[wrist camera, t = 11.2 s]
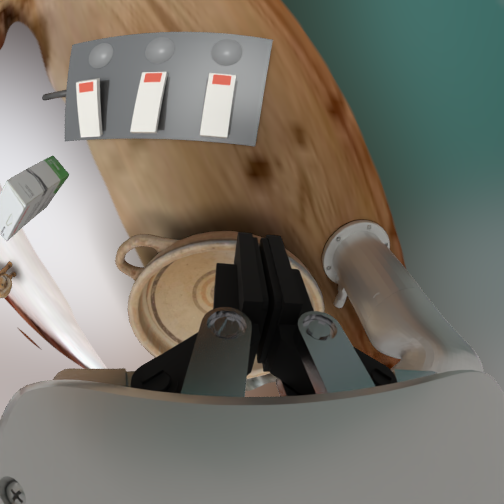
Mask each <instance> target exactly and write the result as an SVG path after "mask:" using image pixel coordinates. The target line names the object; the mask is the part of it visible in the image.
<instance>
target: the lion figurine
mask: <svg viewBox="0 0 504 504" xmlns="http://www.w3.org/2000/svg"><path fill="white" fill-rule="evenodd" d="M10 267H12V263H11V262H8V263H7V265H6V266H5V267H4V268H3V269H2V270H1V271H0V298H4V297H5V298H6V297H7V295H8V294H9V293H10V290H11V288H12V281H11V279H12V277H15V276H16V273H15V272H12V273H11V274H10V275H8V274H6V271H7V270H8V269H9V268H10Z"/></svg>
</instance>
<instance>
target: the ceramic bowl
mask: <svg viewBox="0 0 504 504" xmlns="http://www.w3.org/2000/svg"><path fill="white" fill-rule="evenodd" d="M237 235H238V232H236V231H212V232H206V233H201V234H196V235H192V236H190V237H187V238H184V239H182V240H175V239H168V238H162V237H158V236H154V235H149V234H140V235H135V236H133V237H131V238H129V239H128V240H127V241H125V242H124V243H123V244H122V245H121V246H120V247H119V249H118V251H117V255H116V260H115V262H116V265H117V267H118V269H119V270H120V271H122V272H123V273H125V274H126V275H128V276H130V277H132V278H133V279H134V280H135V283H134V284H133V287H132V290H131V293H130V295H129V301H128V315H129V322H130V324H131V327H132V329H133V332H134V334H135V336H136V337H137V338H138V340H139V342H140V343H141V344H142V345H143V347H144V348H145V349H146V350H147V351H148V352H149V353H150V354H151V355H153V356H154V357H155V358H156V357H158V356H159V355H161V354H163V353H164V352H166V351H168V350H169V349H171V348H173V347H174V346H176V345H178V344H179V343H181V342H183V341H184V340H186V339H188V338H189V337H191V336H193V335H194V334H196V333H197V332H198V331H199V328H200V325H201V321H202V319H203V317H204V315H205V314H206V313H207V312H209V311H210V310H212V309H213V302H214V286H215V274H216V263H226V264H234V257H235V250H236V242H237ZM253 237H257V238H258V243H259V244H260V239H261V238H263V237H260V236H256V235H253ZM138 246H148V247H152V248H154V249H156V250H157V251H158V254H157V255H156V256H155V257H154V258H153V259H152V260H151V261H150V262H148V263H147V265H146V266H145V268H142V267H141V268H140V267H135V266H133V265H130V264H129V263H127V262H126V261H125V259H124V258H125V255H126V253H127V252H129V251H130V250H131V249H133V248H135V247H138ZM285 250H286V253H287V256H288V259H289V262H290V265H291V268H292V269H298V270H299V271H300V273H301V276H302V279H303V281H304V284H305V287H306V290H307V293H308V295H309V298H310V301H311V304H312V307H313V310H314V311H319V312H323V313H324V301H323V296H322V292H321V290H320V288H319V286H318V285H317V283H316V281H315V279H314V278H313V277H312V275H311V273H310V272H309V270H308V269H307V268H306V267H305V266H304V264H303V263H302V262H301V261H300V260H299V259H298V258H297V257H296V256H294V255H293V254H292V253H291V252H289V251H288V250H287V249H285ZM268 373H270V372H263V365H262V363H258V362H257V356H256V357H255V361H254V364H253V368H252V371H251V373H250V374H249V375H247V379H249V378H254V377H258V376H262V375H265V374H268Z"/></svg>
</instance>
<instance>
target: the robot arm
mask: <svg viewBox="0 0 504 504" xmlns="http://www.w3.org/2000/svg"><path fill="white" fill-rule="evenodd" d="M389 249H390V241H389V238H388V235H387V233H386V232H385V230H384V229H383V228H382V227H381V226H380V225H378V224H377V223H375V222H373V221H369V220H358V221H353V222H350V223H348V224H346V225H344V226H342V227H341V228H339V229H338V230H337V231H336V232H335V233H334V234H333V235H332V236H331V237H330V238H329V240H328V242H327V243H326V245H325V248H324V250H323V255H322V264H323V268H324V271H325V273H326V274H327V276H328V277H329V278H330V279H331V280H332V281H333V282H335V283H337V284H338V285H339V286H338V291H339V292H338V294H337V295H336V298H335V300H334V303H333V304H334V306H336V307H338V308H342V307H343V305H344V303H345V301H346V297H347V295H348V297H349V300H350V301H351V303H352V305H353V307H354V309H355V311H356V313H357V315H358V317H359V319H360V321H361V323H362V325H363V328H364V330H365V332H366V334H367V336H368V338H369V340H370V342H371V343H372V345H373V346H374V347H375V348H376V349H377V350H378V351H380V352H381V353H383V354H385V355H388V356H391V357H394V358H398V359H401V360H400V362H399V363H398V364H396V365H395V366H394V367H393V368H391V369H389V368H388V367H386V366H385V365H383V364H381V363H380V362H378V361H376V360H375V359H373V358H371V357H370V356H368V355H366V354H365V353H363V352H361V351H359V350H358V349H356V348H354V347H353V346H352V344H351V343H350V341H349V339H348V337H347V336H346V334H345V332H344V331H343V329H342V327H341V326H340V324H339V323H338V322H337V320H336V319H334V318H333V317H332V316H330V315H328V314H326V313H323V312H319V311H314V310H313V307H312V304H311V301H310V298H309V295H308V293H307V290H306V287H305V284H304V281H303V279H302V276H301V273H300V271H299V270H298V269H292V268H291V265H290V262H289V259H288V256H287V253H286V250H285V247H284V244H283V241H282V238H281V236H275V235H266V237H265V238H261V239H260V244H259V243H258V238H257V237H253V234H252V233H244V232H238V235H237V242H236V250H235V257H234V264H226V263H216V274H215V286H214V302H213V309H212V310H210V311H209V312H207V313H206V314H205V315H204V317H203V319H202V321H201V325H200V328H199V331H198V332H197V333H196V334H194V335H193V336H191V337H189V338H188V339H186V340H184V341H183V342H181V343H179V344H178V345H176V346H174V347H173V348H171V349H169V350H168V351H166V352H164V353H163V354H161V355H159V356H158V357H156V358H154V359H152V360H151V361H149V362H147V363H146V364H144V365H142V366H141V367H140V368H138V369H137V370H136V371H130V372H126V370H125V369H64V370H63V371H61V372H59V373H58V374H57V375H56V376H55V377H54V379H53V380H49V381H41V382H37V383H33V384H30V385H26V386H25V387H23V388H21V389H20V390H19V391H18V392H16V393H15V395H14V396H13V397H12V399H11V400H10V401H9V403H8V405H7V406H6V408H5V410H4V413H3V415H2V417H1V419H0V504H504V393H503V391H502V389H501V388H500V387H499V385H498V383H497V382H496V380H495V379H494V378H493V377H492V376H490V375H488V374H486V373H484V372H483V366H482V363H481V361H480V359H479V357H478V355H477V354H476V352H475V351H474V350H473V349H472V347H471V346H470V345H469V344H468V343H467V342H466V341H465V340H464V339H463V338H462V337H461V336H460V335H459V333H458V332H457V331H456V330H455V329H454V328H453V327H452V326H451V325H450V324H449V323H448V322H447V321H446V319H445V318H444V317H443V316H442V314H441V313H440V312H439V311H438V309H437V308H436V307H435V306H434V304H433V303H432V302H431V300H430V299H429V298H428V296H427V295H426V294H425V293H424V291H423V290H422V289H421V288H420V286H419V285H418V284H417V282H416V281H415V280H414V279H413V278H412V276H411V275H410V274H409V272H408V271H407V270H406V269H405V268H404V266H403V265H402V264H401V263H400V262H399V260H398V259H397V258H396V257H395V256H394V254H393V253H392V252H391V251H390V250H389ZM256 356H257V362H258V363H262V365H263V372H270V373H271V374H273V375H274V376H276V385H277V388H278V391H279V394H280V397H245V388H246V379H247V375H249V374H250V373H251V371H252V368H253V364H254V361H255V357H256Z"/></svg>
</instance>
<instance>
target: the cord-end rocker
mask: <svg viewBox="0 0 504 504" xmlns="http://www.w3.org/2000/svg"><path fill="white" fill-rule="evenodd" d="M76 93H77V107H78V118H79V127H80V135H81V137H99V136H101V135H102V134H103V131H102V119H101V103H100V78H97V79H90V80H83V81H78V82H76Z"/></svg>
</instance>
